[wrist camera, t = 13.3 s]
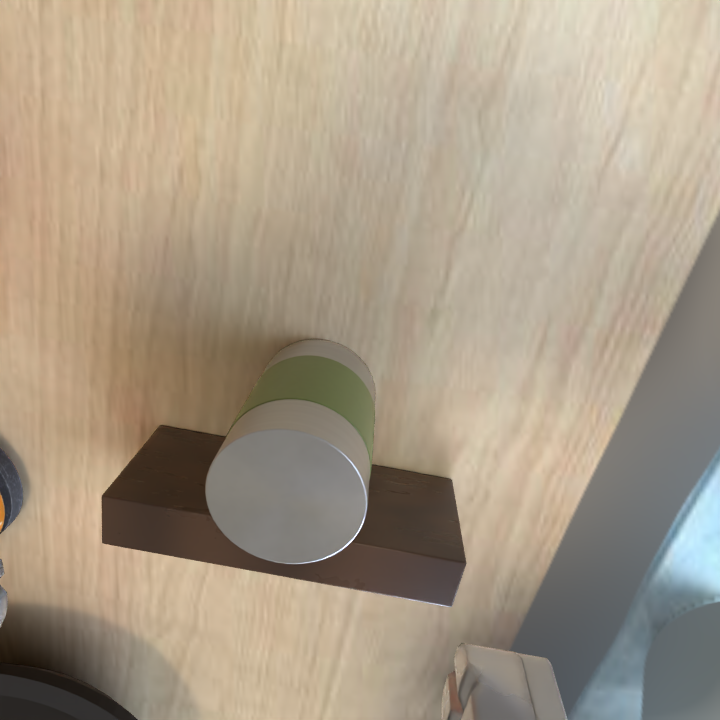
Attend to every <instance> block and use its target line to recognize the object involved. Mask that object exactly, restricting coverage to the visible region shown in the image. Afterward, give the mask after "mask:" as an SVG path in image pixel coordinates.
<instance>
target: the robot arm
mask: <svg viewBox="0 0 720 720" xmlns="http://www.w3.org/2000/svg"><path fill="white" fill-rule="evenodd" d="M3 574H4V569H3V564H2V559H0V578H1V577H2V576H3ZM7 606H8V599H7V592H6V591H5V590H4V589H3V587H2V586H1V585H0V627H1V625H2V623H3V621H4V618H5V616H6V611H7ZM454 660H455V671H453V672H451V673H450V674H448V677H447V680H446V683H445V686H444V692H443V699H442V718H441V719H442V720H567V717H566V713H565V710H564V706H563V703H562V700H561V696H560V693H559V690H558V686H557V683H556V679H555V675H554V672H553V669H552V665H551V663H550V662H549V661H548V659H546V658H541V657H536V656H530V655H524V654H520V653H518V654H517V653H516V652H512V651H506V650H500V649H494V648H488V647H482V646H477V645H471V644H465V643H461V644H460V645H459V646H458V648H457V651H456V654H455V656H454Z"/></svg>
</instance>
